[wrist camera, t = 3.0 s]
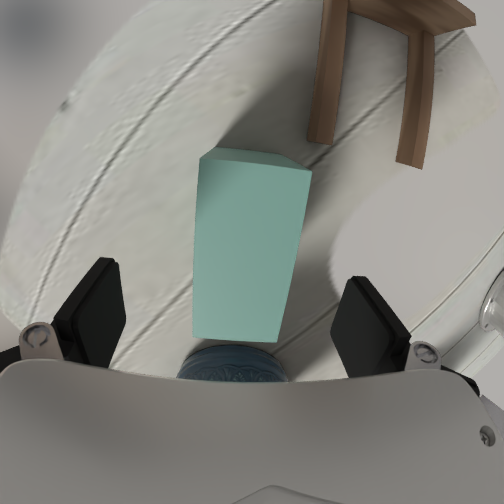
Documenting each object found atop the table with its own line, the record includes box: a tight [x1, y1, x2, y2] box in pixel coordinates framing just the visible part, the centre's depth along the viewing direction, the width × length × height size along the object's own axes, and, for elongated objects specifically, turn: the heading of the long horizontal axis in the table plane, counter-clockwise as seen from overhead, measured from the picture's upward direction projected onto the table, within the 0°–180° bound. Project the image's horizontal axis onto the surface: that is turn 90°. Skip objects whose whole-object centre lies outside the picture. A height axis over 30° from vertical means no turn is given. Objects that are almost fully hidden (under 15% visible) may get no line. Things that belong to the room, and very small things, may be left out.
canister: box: [176, 345, 288, 382], centre depth 22 cm, size 13×13×18 cm
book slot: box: [307, 0, 476, 170], centre depth 14 cm, size 9×14×8 cm
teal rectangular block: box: [193, 147, 312, 343], centre depth 18 cm, size 5×10×9 cm, turn 173°
